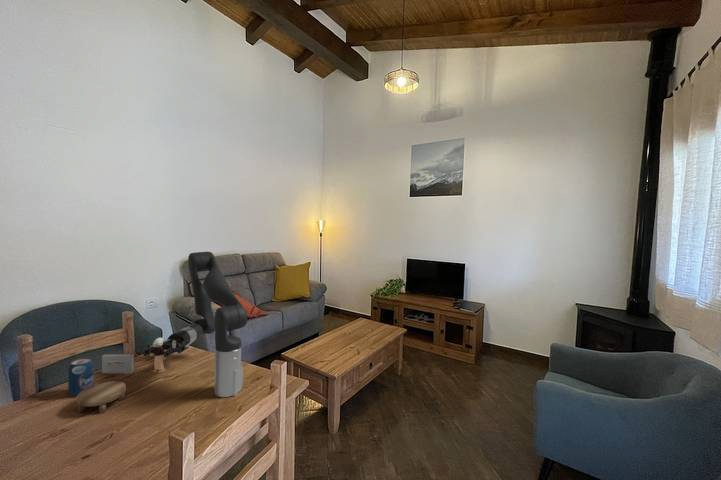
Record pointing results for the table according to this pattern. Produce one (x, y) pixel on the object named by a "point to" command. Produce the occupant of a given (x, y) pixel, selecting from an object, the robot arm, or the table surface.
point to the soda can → (80, 376)
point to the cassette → (111, 367)
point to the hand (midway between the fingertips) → (154, 354)
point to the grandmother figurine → (158, 355)
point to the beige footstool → (101, 395)
